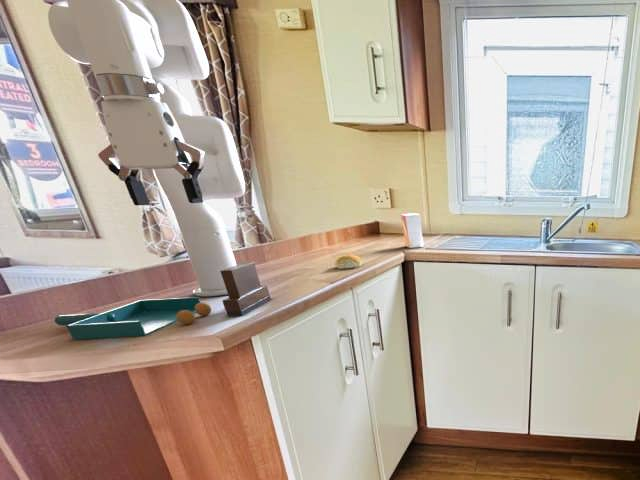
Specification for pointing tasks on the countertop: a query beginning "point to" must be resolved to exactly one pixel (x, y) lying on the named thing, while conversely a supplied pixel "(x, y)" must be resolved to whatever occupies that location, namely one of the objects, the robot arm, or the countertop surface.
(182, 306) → the dustpan
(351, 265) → the bread roll
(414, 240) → the small box
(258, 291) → the stepped wooden block
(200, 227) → the robot arm
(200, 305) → the orange round ball
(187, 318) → the crumb
